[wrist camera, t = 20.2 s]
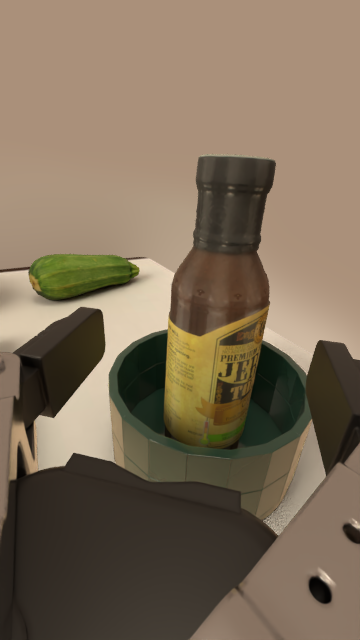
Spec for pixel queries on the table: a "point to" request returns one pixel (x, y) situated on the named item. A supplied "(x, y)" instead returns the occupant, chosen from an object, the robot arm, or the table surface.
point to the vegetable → (78, 274)
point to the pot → (201, 462)
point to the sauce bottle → (218, 305)
